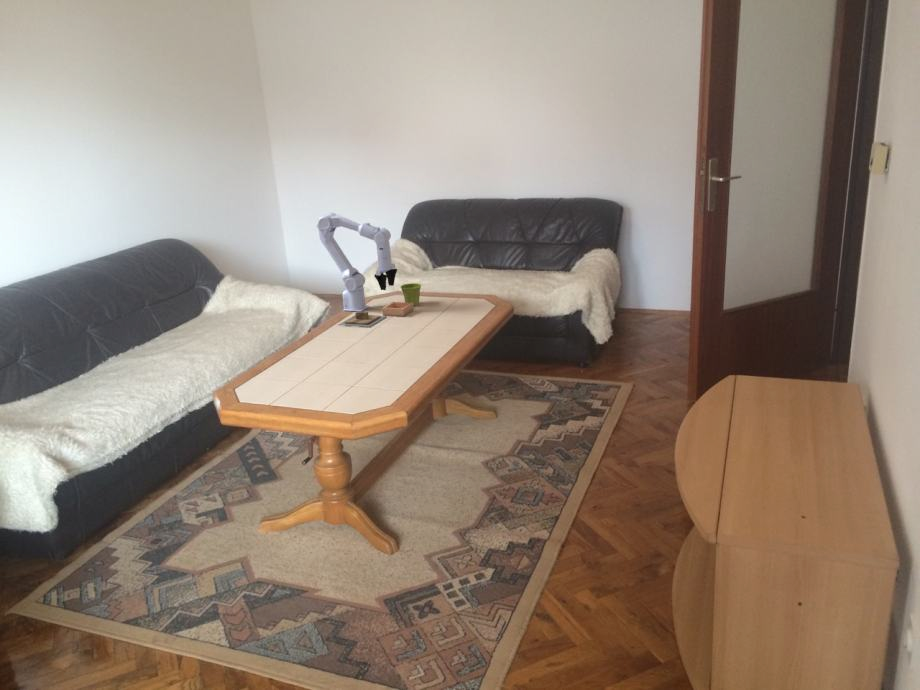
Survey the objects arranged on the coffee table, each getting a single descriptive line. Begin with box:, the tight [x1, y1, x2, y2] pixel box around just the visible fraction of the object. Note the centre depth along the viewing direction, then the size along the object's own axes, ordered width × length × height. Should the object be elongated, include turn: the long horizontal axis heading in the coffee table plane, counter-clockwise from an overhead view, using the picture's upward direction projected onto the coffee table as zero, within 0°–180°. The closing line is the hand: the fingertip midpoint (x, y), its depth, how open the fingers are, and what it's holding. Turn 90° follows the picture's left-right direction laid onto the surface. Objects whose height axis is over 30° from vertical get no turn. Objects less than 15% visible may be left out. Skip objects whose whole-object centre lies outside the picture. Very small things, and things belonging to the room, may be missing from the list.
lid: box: [344, 311, 381, 325], centre depth 318 cm, size 11×11×4 cm
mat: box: [338, 314, 388, 328], centre depth 318 cm, size 15×15×1 cm
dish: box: [382, 301, 415, 318], centre depth 326 cm, size 10×10×4 cm
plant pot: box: [400, 282, 422, 306], centre depth 337 cm, size 9×9×9 cm
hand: (387, 287), depth 330 cm, fingers open, 7 cm apart
